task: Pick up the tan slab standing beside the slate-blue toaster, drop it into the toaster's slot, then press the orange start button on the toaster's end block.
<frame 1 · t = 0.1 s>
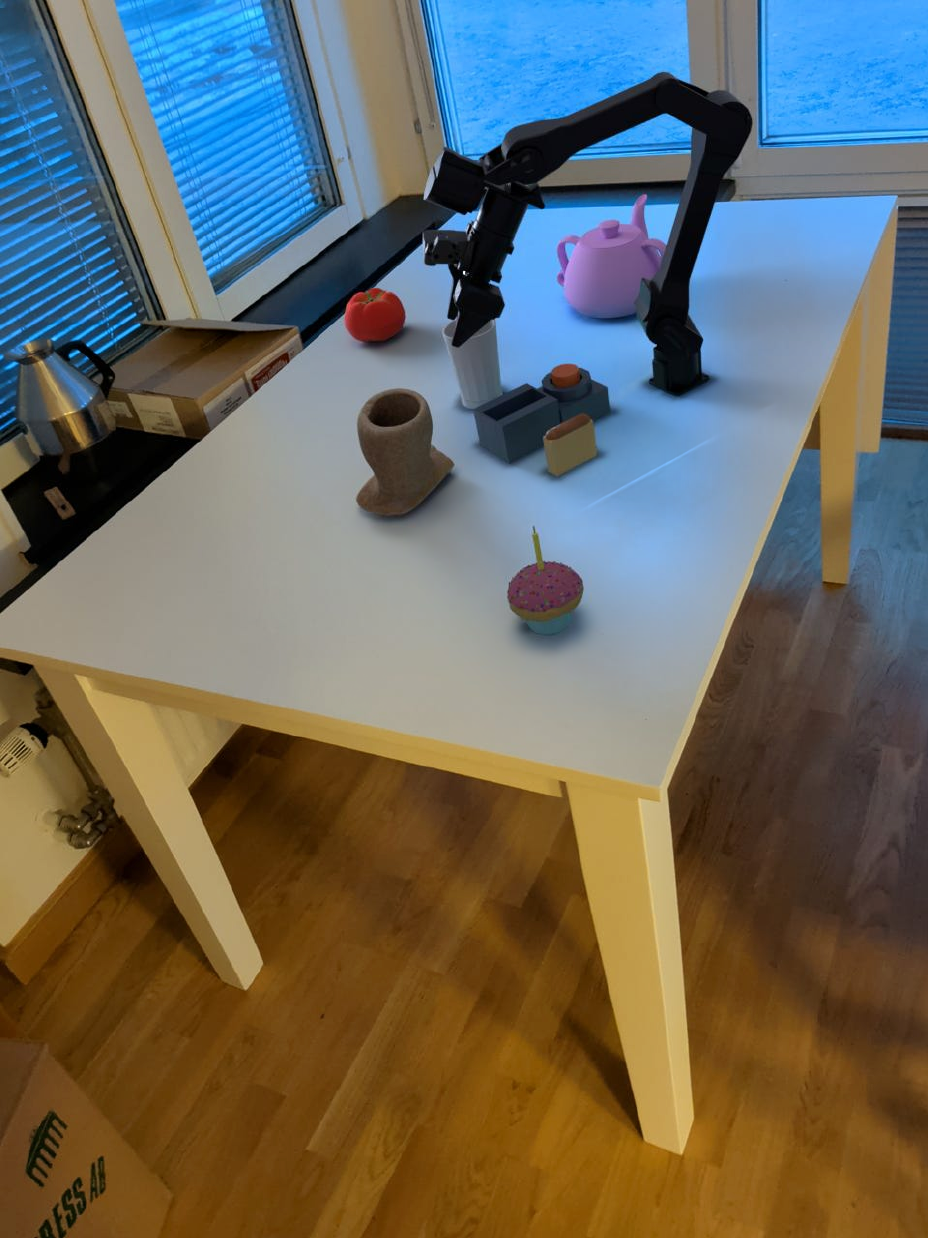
hand: (452, 332, 148), 15 cm above the table, tool tilted 30°, fingers open, 9 cm apart
toaster: (521, 441, 151), on the table
start button: (565, 375, 150), point 6 cm above the table, slide at 0.1 cm
cup: (482, 400, 163), on the table
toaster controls: (570, 415, 154), on the table
cupcake: (550, 623, 120), on the table
tomato: (380, 336, 188), on the table
stone cup: (414, 492, 146), on the table
teapot: (622, 297, 182), on the table
tan slab: (572, 463, 144), on the table
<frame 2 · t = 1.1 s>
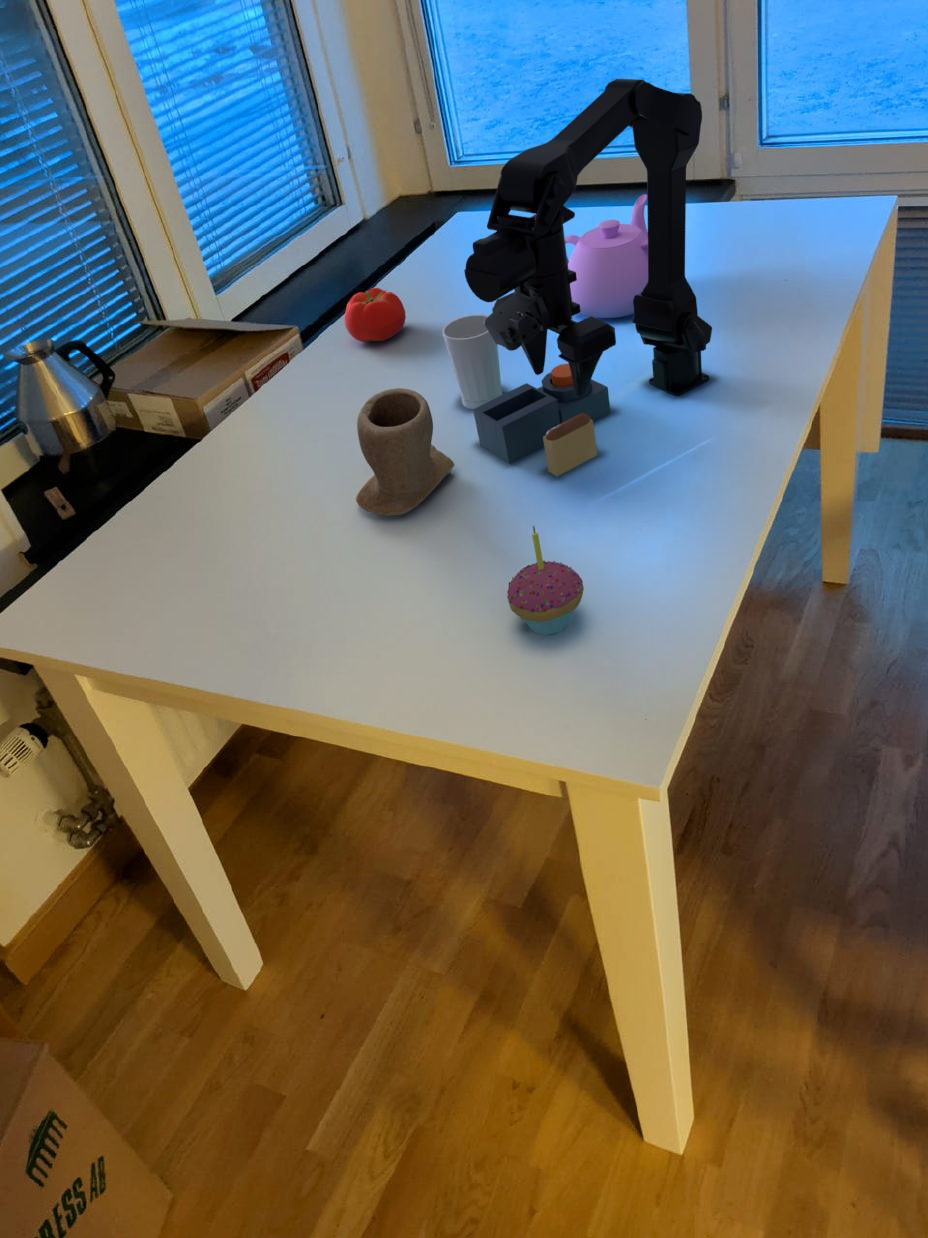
hand: (559, 384, 137), 12 cm above the table, tool pointing down, fingers open, 9 cm apart
nothing on the table moved.
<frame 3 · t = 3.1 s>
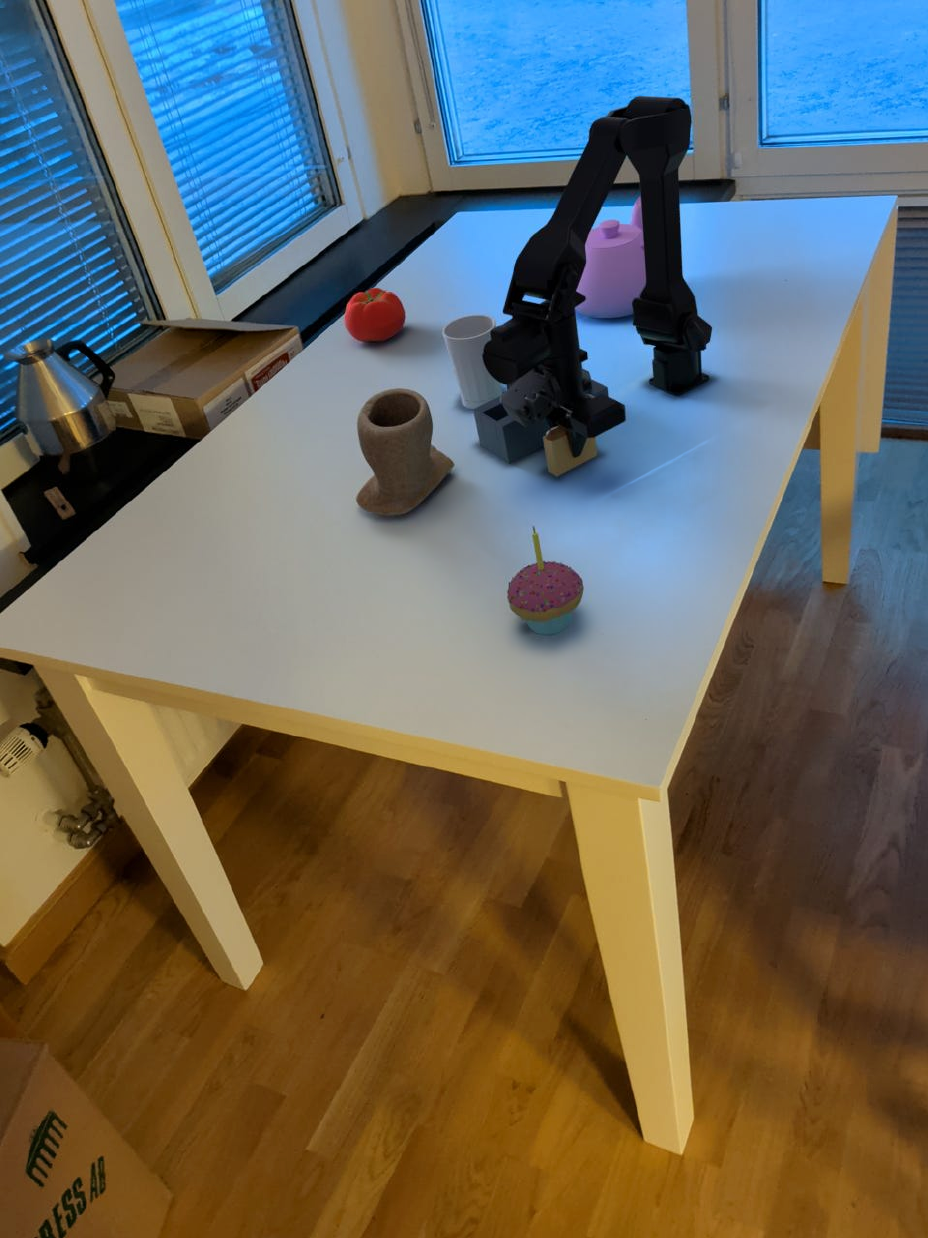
hand: (571, 453, 143), 2 cm above the table, tool pointing down, fingers closed on tan slab, 2 cm apart
tan slab: (572, 463, 144), on the table, touching gripper
everything else where it was.
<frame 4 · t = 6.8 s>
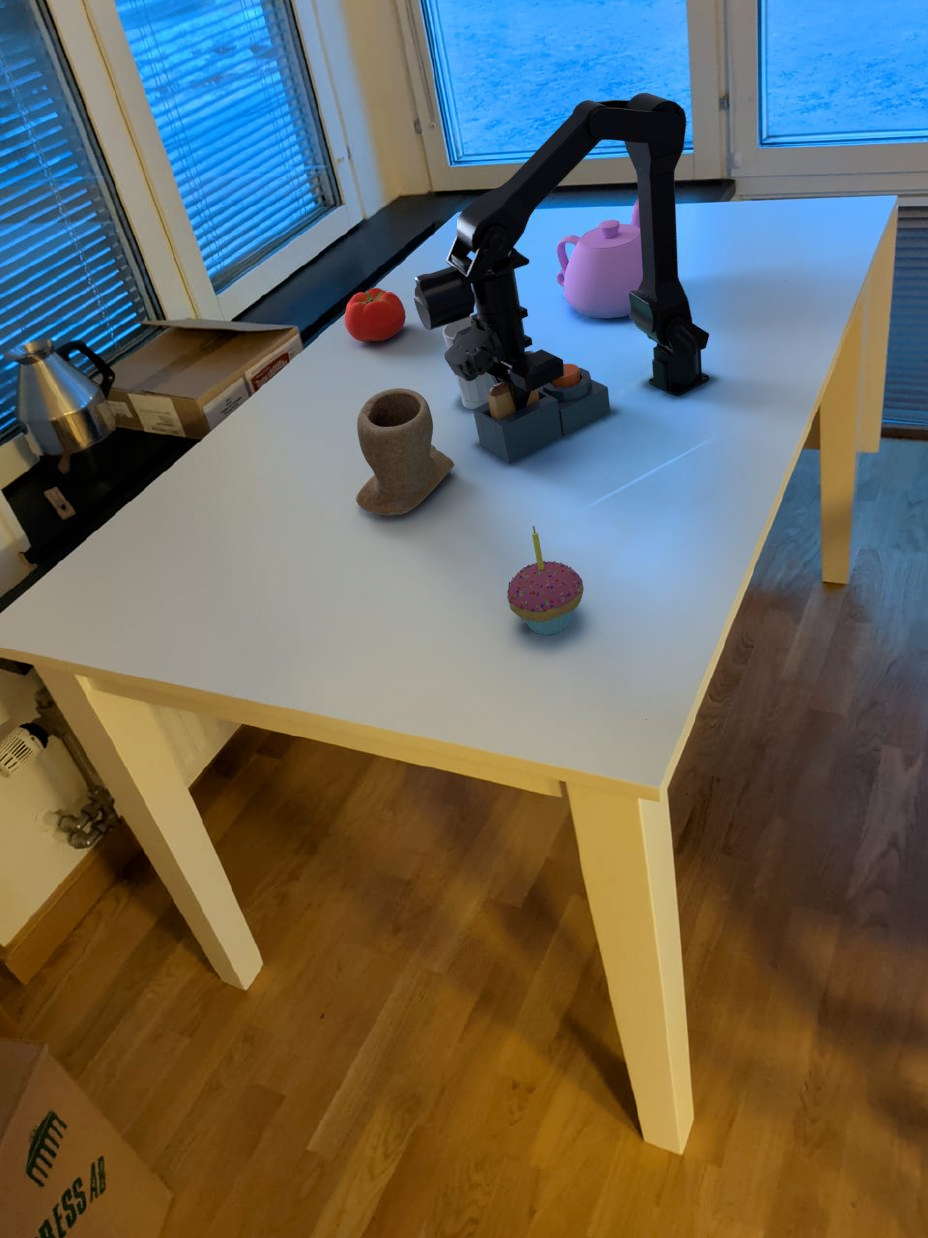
hand: (516, 409, 148), 5 cm above the table, tool pointing down, fingers closed on tan slab, 2 cm apart
tan slab: (517, 420, 149), point 3 cm above the table, touching gripper
everything else where it was.
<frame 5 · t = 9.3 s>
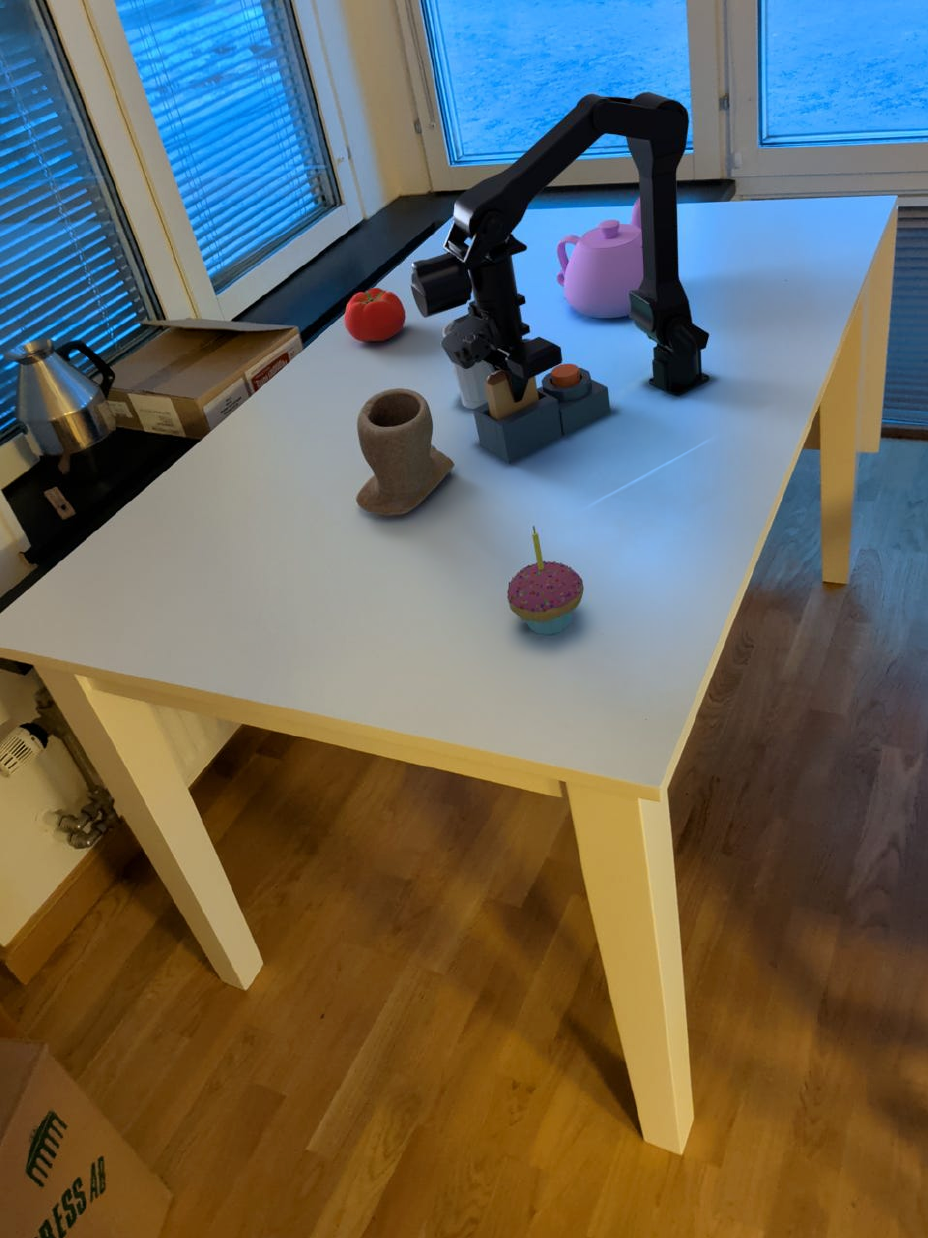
hand: (513, 398, 147), 7 cm above the table, tool pointing down, fingers closed on tan slab
tan slab: (515, 408, 148), point 5 cm above the table, touching gripper
everything else where it was.
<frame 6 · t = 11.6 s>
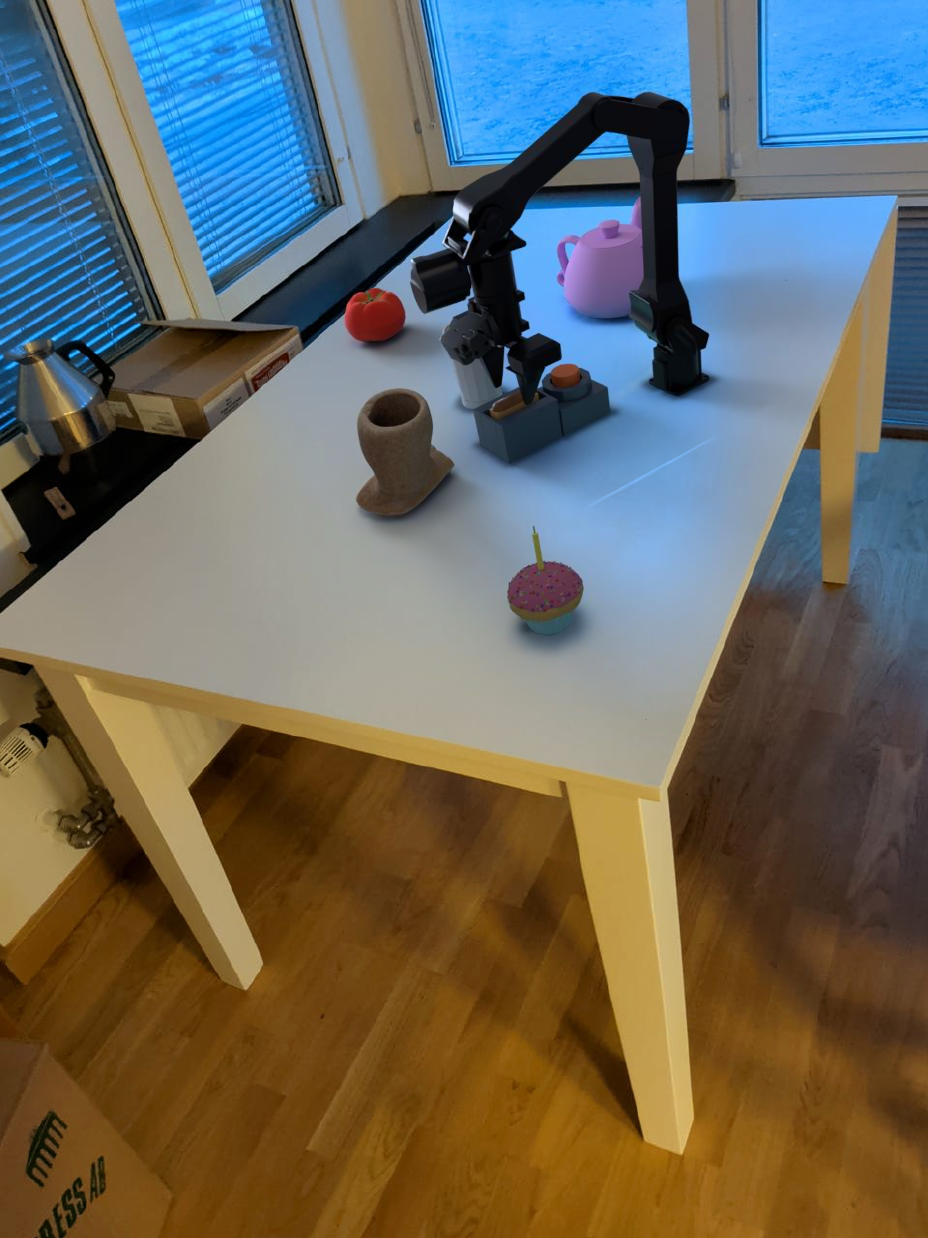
hand: (513, 395, 147), 7 cm above the table, tool pointing down, fingers open, 7 cm apart
tan slab: (519, 435, 151), point 1 cm above the table, touching toaster
everything else where it was.
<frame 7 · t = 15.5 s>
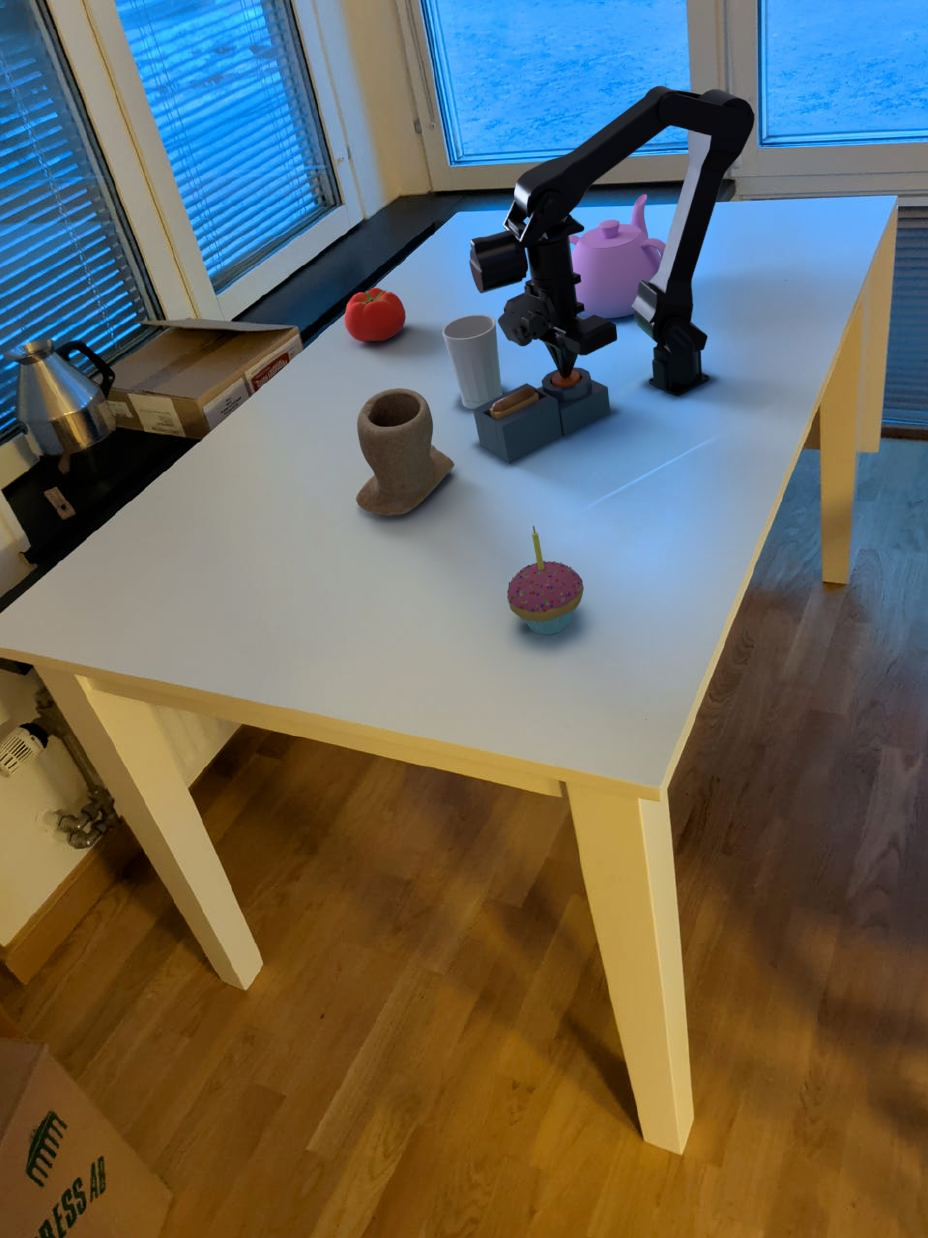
hand: (566, 376, 150), 6 cm above the table, tool pointing down, fingers closed, pressing on start button
start button: (566, 382, 151), point 5 cm above the table, slide at -0.9 cm, touching gripper
everything else where it was.
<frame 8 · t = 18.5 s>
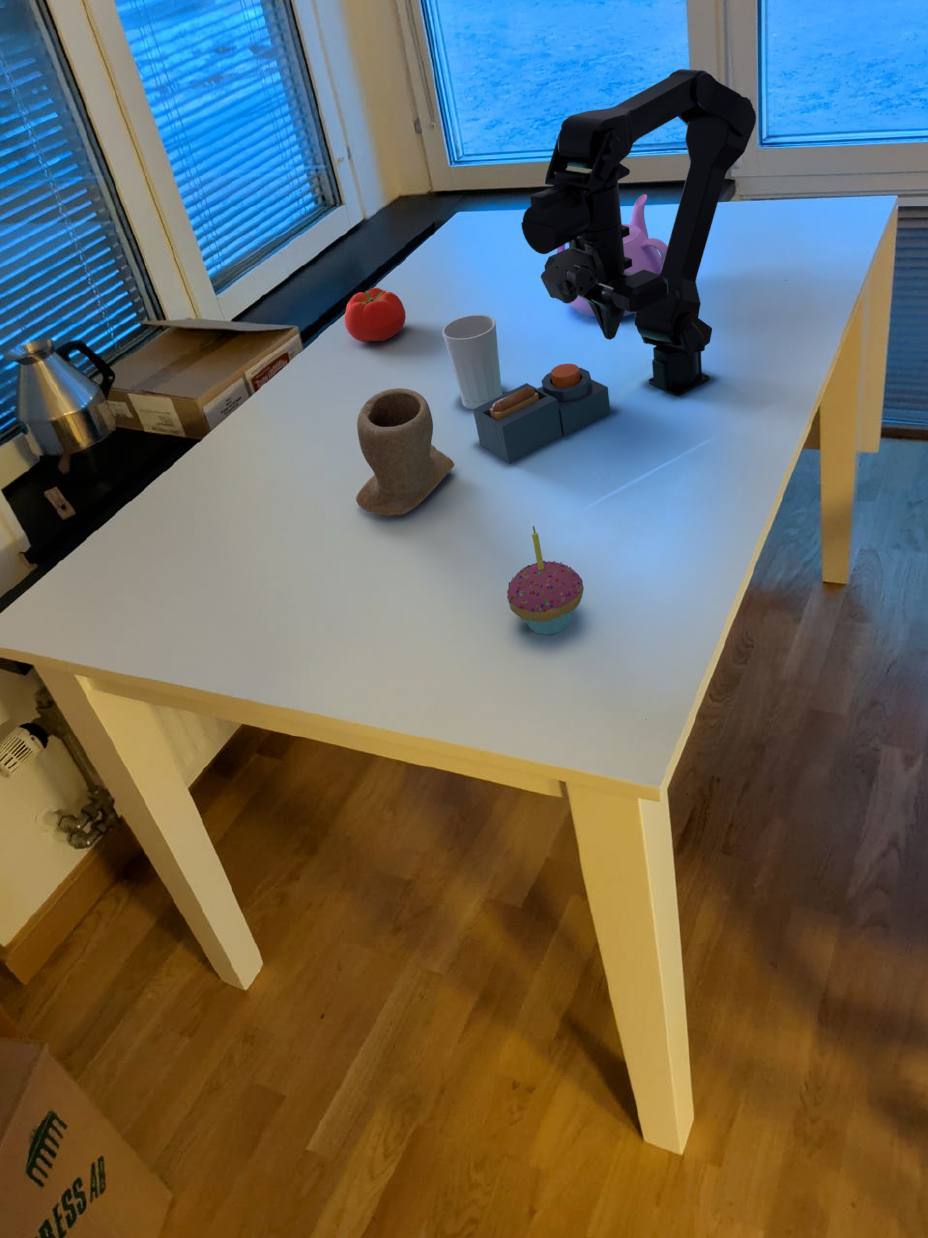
hand: (610, 337, 142), 13 cm above the table, tool pointing down, fingers closed
start button: (565, 375, 150), point 6 cm above the table, slide at 0.1 cm
everything else where it was.
at the end: tan slab 0.1 cm off-centre on the toaster, point 1.0 cm above the toaster's base; start button pushed in 1.1 cm at the most during the clip, back to where it started at the end; start button slide at 0.1 cm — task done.
